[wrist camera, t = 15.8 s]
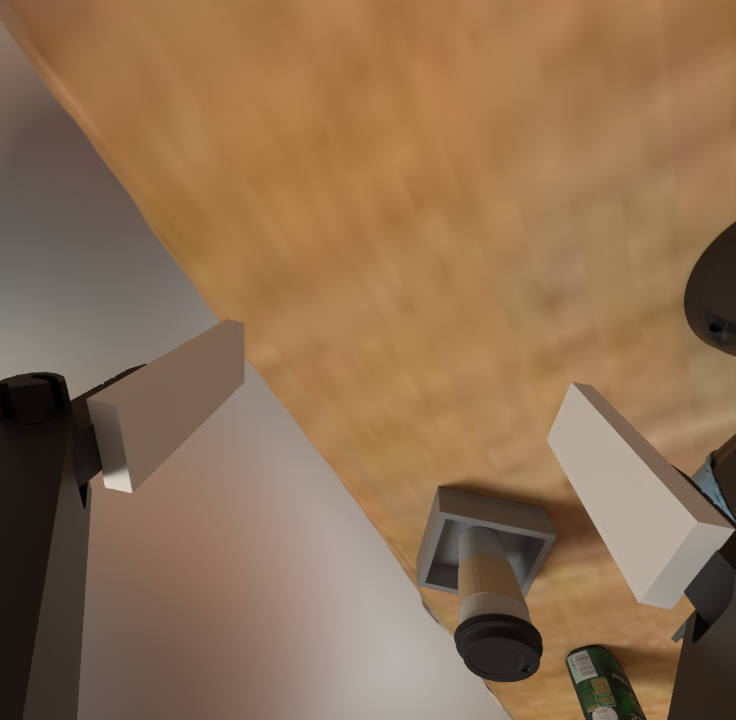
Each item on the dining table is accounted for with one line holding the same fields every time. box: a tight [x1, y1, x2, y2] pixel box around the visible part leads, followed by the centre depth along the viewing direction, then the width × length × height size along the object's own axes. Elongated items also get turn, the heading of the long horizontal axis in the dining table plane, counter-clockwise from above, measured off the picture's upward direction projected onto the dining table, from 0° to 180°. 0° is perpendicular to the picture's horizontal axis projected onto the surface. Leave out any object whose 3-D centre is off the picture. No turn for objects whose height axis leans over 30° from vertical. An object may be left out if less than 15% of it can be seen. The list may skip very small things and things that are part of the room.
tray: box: [417, 487, 557, 599], centre depth 50 cm, size 15×15×4 cm
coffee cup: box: [454, 527, 543, 682], centre depth 44 cm, size 9×9×15 cm
